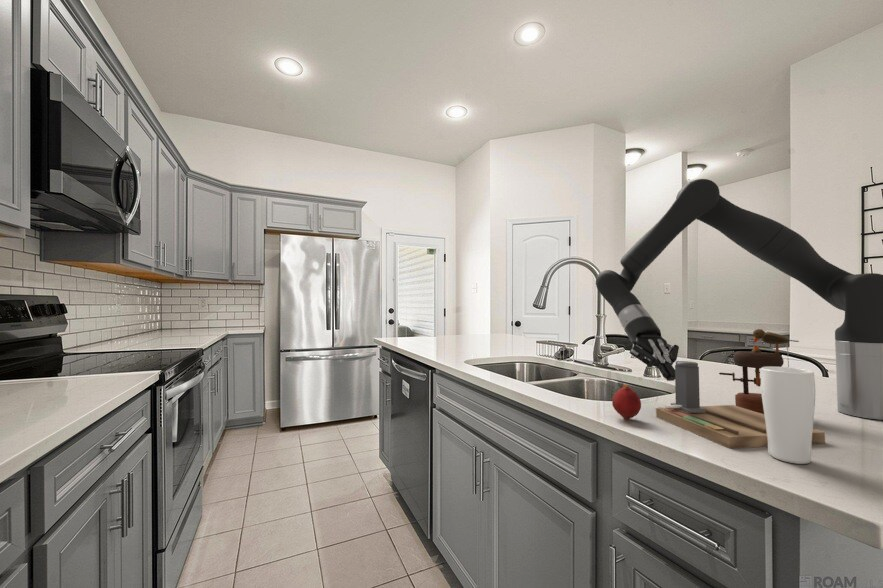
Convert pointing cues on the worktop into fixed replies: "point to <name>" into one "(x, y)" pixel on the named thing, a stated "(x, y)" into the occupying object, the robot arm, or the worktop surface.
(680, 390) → the peg slider
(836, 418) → the worktop surface
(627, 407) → the onion
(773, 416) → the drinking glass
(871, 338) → the robot arm
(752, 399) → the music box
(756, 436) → the board
